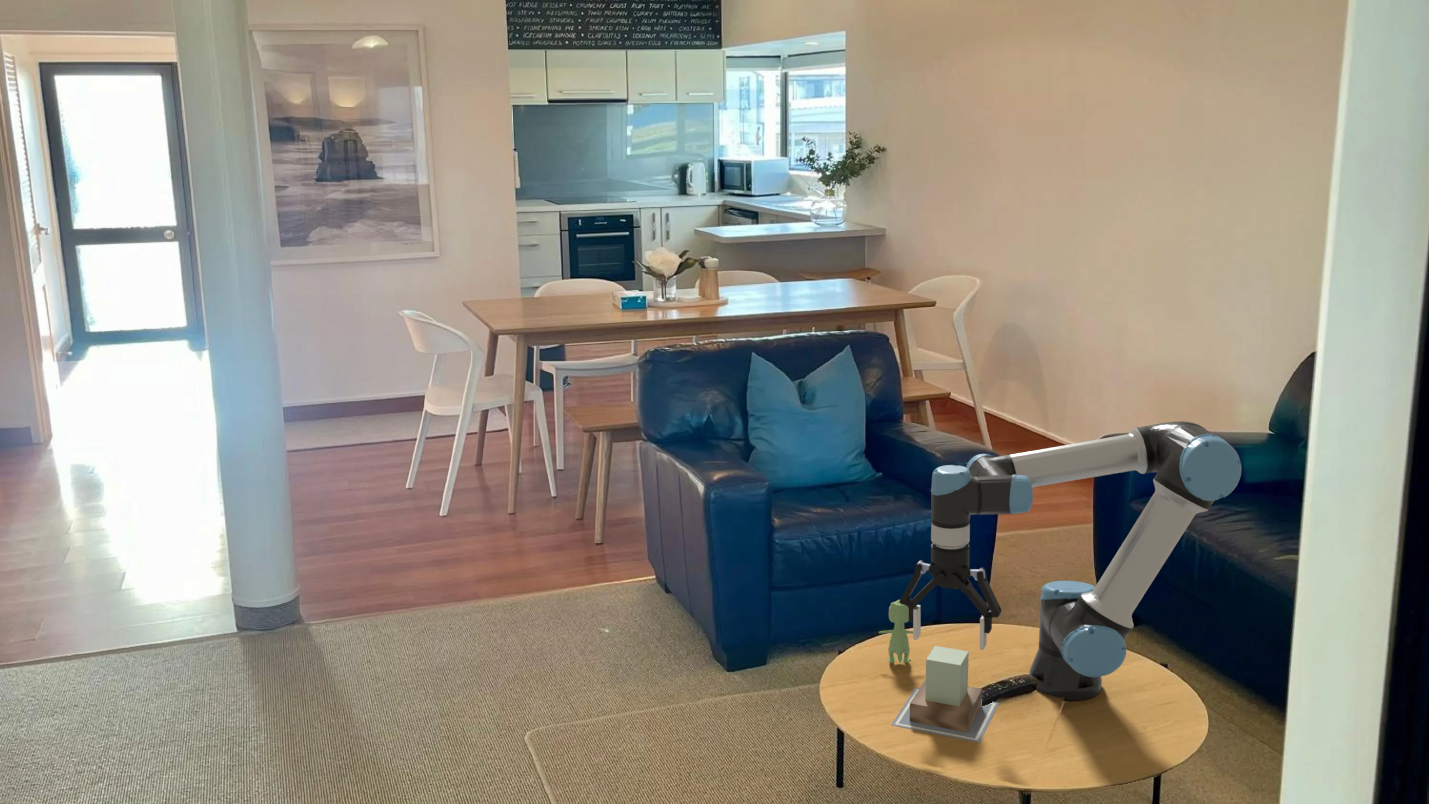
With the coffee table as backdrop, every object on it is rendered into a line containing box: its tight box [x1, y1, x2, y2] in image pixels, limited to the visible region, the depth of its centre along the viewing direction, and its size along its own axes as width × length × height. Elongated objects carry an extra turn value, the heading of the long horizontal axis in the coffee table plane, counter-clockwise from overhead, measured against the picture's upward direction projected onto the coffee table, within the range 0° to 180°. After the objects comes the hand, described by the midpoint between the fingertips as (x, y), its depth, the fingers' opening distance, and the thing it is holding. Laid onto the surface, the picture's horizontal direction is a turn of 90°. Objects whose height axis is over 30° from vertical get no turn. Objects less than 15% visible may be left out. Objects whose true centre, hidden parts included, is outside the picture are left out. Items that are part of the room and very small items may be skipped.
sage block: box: [925, 645, 970, 706], centre depth 241 cm, size 7×7×9 cm
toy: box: [878, 599, 913, 664], centre depth 266 cm, size 7×8×15 cm
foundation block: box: [910, 678, 983, 733], centre depth 242 cm, size 12×12×4 cm
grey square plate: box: [890, 687, 1000, 743], centre depth 243 cm, size 18×18×1 cm
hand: (949, 642), depth 239 cm, fingers open, 13 cm apart
